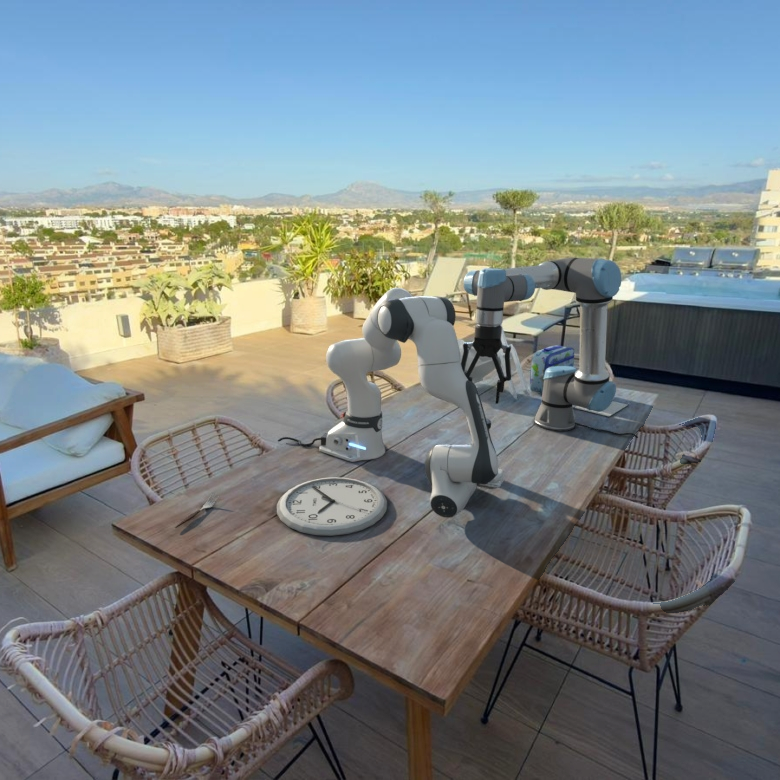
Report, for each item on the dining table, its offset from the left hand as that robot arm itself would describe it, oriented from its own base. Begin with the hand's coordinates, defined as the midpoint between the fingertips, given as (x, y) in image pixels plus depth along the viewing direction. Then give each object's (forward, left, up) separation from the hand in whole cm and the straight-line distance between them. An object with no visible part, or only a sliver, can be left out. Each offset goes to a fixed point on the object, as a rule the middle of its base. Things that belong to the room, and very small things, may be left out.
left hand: (474, 461), depth 157 cm
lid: (0, +4, +11) cm, 12 cm away
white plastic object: (-21, +87, -6) cm, 90 cm away
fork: (-60, -51, -6) cm, 79 cm away
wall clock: (-31, -32, -6) cm, 45 cm away
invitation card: (+32, +91, -6) cm, 97 cm away
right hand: (0, +4, +18) cm, 18 cm away
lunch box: (+8, +106, -6) cm, 107 cm away
